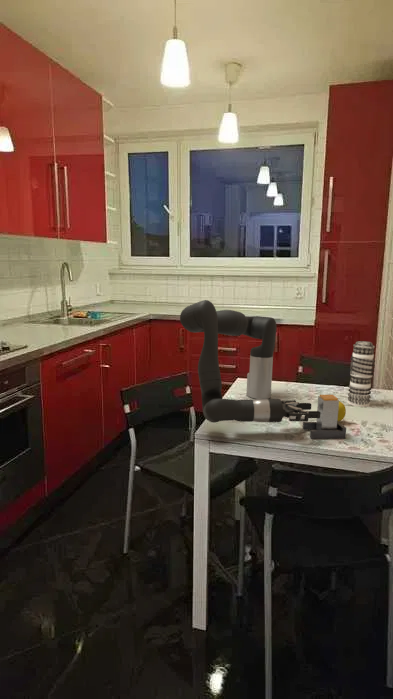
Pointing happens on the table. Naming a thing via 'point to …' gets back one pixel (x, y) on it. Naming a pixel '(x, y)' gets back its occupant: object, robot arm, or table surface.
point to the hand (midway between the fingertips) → (315, 410)
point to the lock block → (327, 412)
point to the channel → (325, 431)
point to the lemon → (341, 411)
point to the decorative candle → (361, 374)
